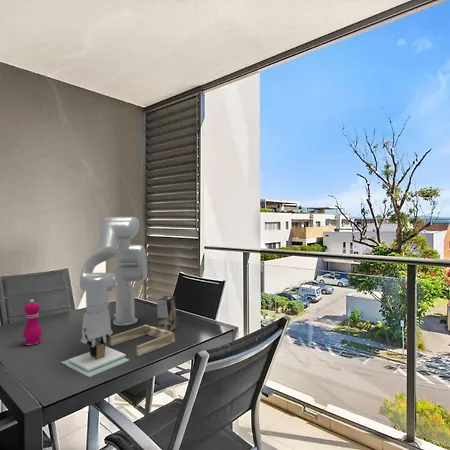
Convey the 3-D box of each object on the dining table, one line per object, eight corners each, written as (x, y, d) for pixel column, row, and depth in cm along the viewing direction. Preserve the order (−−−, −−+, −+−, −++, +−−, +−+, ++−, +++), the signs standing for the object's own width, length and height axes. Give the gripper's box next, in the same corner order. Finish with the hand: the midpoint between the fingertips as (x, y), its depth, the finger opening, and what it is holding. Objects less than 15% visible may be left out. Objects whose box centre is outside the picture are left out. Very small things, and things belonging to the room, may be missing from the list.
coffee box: (169, 333, 162) (169, 300, 161) (157, 332, 163) (156, 299, 163) (176, 327, 171) (175, 295, 170) (164, 326, 172) (163, 295, 172)
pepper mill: (45, 341, 153) (44, 298, 153) (31, 347, 146) (30, 301, 146) (33, 339, 155) (32, 296, 155) (19, 345, 149) (18, 300, 148)
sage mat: (61, 363, 130) (61, 362, 130) (100, 348, 143) (100, 348, 143) (89, 377, 118) (89, 376, 118) (129, 360, 131) (129, 359, 131)
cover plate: (68, 361, 129) (68, 346, 129) (105, 347, 142) (105, 334, 142) (88, 371, 121) (88, 355, 121) (125, 356, 134) (125, 342, 133)
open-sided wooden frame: (109, 345, 147) (109, 336, 147) (146, 332, 163) (145, 324, 163) (138, 356, 135) (138, 347, 135) (174, 341, 151) (174, 333, 151)
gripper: (109, 302, 140) (110, 345, 140) (71, 311, 127) (72, 359, 127) (120, 304, 135) (121, 349, 136) (82, 314, 122) (83, 364, 123)
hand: (97, 353), depth 131 cm, fingers closed on cover plate, 3 cm apart
